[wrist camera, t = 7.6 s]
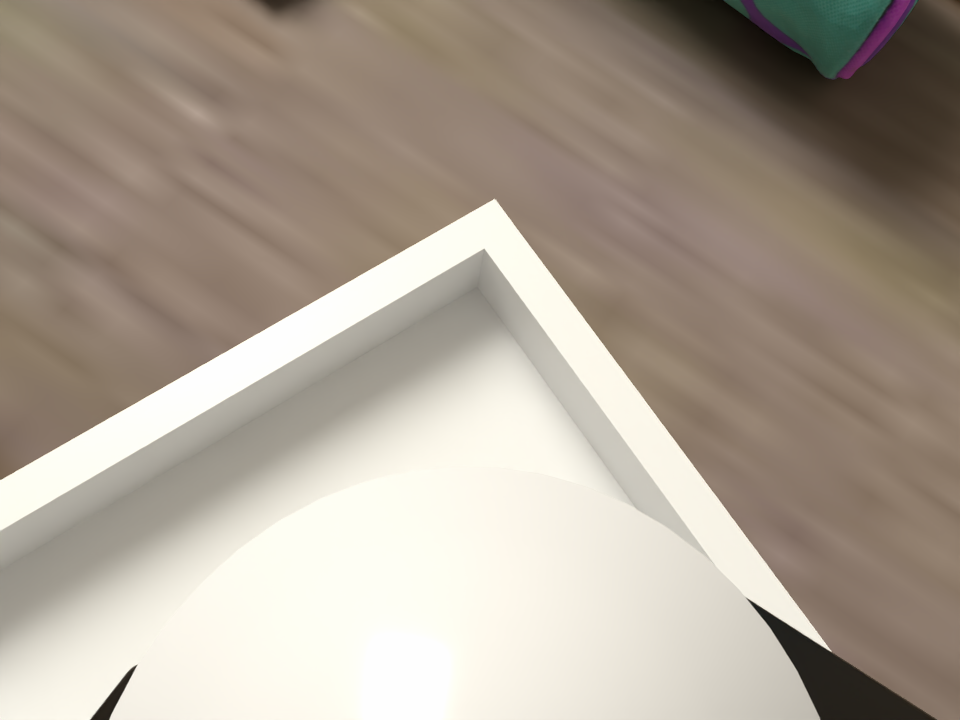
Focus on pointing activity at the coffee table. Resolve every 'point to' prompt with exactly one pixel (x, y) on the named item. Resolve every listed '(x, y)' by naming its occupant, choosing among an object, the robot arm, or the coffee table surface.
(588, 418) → the parts tray
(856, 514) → the coffee table surface
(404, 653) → the white light bulb
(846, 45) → the pencil case
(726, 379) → the coffee table surface
